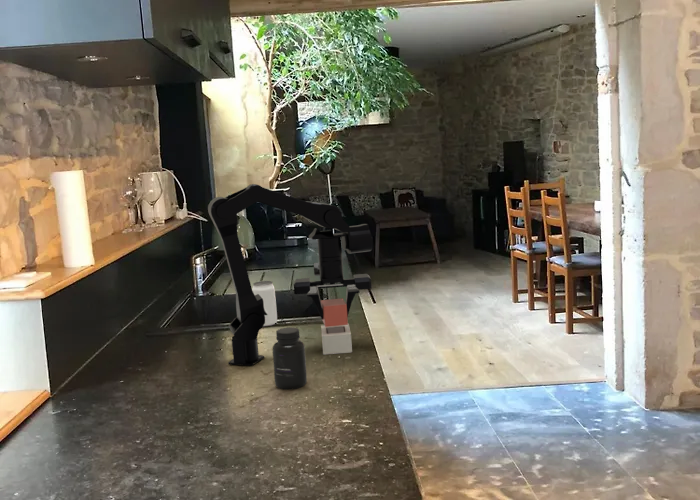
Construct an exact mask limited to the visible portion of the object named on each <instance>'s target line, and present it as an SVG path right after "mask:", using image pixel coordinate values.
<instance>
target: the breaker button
mask: <svg viewBox="0 0 700 500" xmlns="http://www.w3.org/2000/svg"><path fill="white" fill-rule="evenodd" d="M327 330H328V334H329V333H342V332H344V328H343V327H334V328H327Z"/></svg>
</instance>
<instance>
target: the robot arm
mask: <svg viewBox="0 0 700 500" xmlns="http://www.w3.org/2000/svg"><path fill="white" fill-rule="evenodd" d="M256 203H261V204H263V205H266V206H270V207H273V208H275V209H279V210H282V211H286V212H289V213H292V214H295V215H298V216H301V217H303V218H304V219H306V220H307V221H310V222H311V223H314V224H315V225H318V226H319V227H321V228H324V229H327V230H321V231H320V230H319V228H316V227H315V228H314V229H313V230H312V232H311V233H310V234H309V235H308V238H309V239H311V240H313V241H315V240H317V251H318V262H313V275H314V277H319V280H311V278H310V277H307V278H306V277H305V278H296V279H295V280H293V294H294V295H303V294H304V295H306V297H307V298H311V299H312V302H313V303H314V305H315V306H316V309H317V311H318V314H319V316H320V318H321V320H322V319H323V310H322V306H321V297H320V291H319V289H330V288H331V289H333V288H343V287H345V288H346V289H345V290H346V291H345V292H346V295H345V303H346V304H347V318H349V313H350V310H351V306H352V303H353V300H354V298H355V296H356V294H359V293H360V291H361V290H371V289H372V278H371V276H370V275H369V274H368V273H358V274H353V278H344V277H345V276H344V263H343V250H344V251H346V252H347V254H348V255H349V254H356V253H367V252H371V251H372V250H373V247H374V239H373V237H372V233H371V230H370V227H369V224H368V223H361V224H358V225H349V224H348V223H347V222H346V221H345V220H344V218H343V214H342V211H341V209H340V208H339V206H336V205H332V204H329V203H324V202H316V201H309V200H308V201H306V200H302V199H300V198H296V197H293V196H290V195H287V194H284V193H281V192H278V191H274V190H272V189H268V188H265V187H263V186H262V185H260V184H257V183H255V184H254V183H251V184H249V185H247V186H246V187H244V188H242V189H240V190H238V191H236V192H234V193H231V194H229V195H227V196H225V197H224V196H217V197H215V198H213V199H211V201H210V202H209V204H208V205H207V210H208V211H207V212H208V214H209V217H210V219H211V221H212V223H213V225H214V228H215V229H216V231H217V233H218V235H219V237H220V240H221V243H222V247H223V250H224V254H225V258H226V261H227V266H228V269H229V273H230V276H231V280H232V284H233V288H234V292H235V310H236V317H235V318H233V320H232V321H231V323H230V324H229V325H228V328H229V330H230V331H231V334H232V335H233V336H232V337H231V347H232V357H233V359H231V360H229V361H228V365H233V366H234V365H235V366H246V367H247V366H249V367H250V366H252V367H253V366H254V365H255V364H257V363H259V362H260V361H261V360H263V359H264V358H265V355H264V354H263V355H262V354H261V355H260V354H259V345H258V344H259V342H258V336H259V331H260V330H261V329H262V328H263V327H264V326H263V325H264V324H265V316H264V315H267V313H266V312H265V310H264V303H263V299H262V297H261V296H260V295H259V294H257V295H254V293H253V291H252V288H253V286H252V285H251V281H250V277H249V274H248V269H247V265H246V262H245V259H244V254H243V250H242V247H241V246H242V245H241V244H240V239H239V235H238V234H239V233H238V225H239V224H238V214H239V213H240V212H242V211H244V210H246V209H248V208H250V206H252V205H253V204H256ZM332 230H336V231H339V232H338V233H337V232H336V233H333V231H332Z"/></svg>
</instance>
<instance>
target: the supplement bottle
mask: <svg viewBox="0 0 700 500" xmlns="http://www.w3.org/2000/svg"><path fill="white" fill-rule="evenodd" d="M275 334H276V336H275V337H276V342H275V343H274V345H273V346H272V360H273V373H274V374H273V375H274V384H275V386H276V387H277V388H278V389H280V390H286V391H287V390H289V391H290V390H297V389H300V388H303V387H304V386H305V385H306V384H307V381H308V377H307V376H308V375H307V360H306V348H305V344H304V343H303V341H302V340H300V339H301V337H300V336H301V335H300V329H299V328H298V327H293V326H292V327H282V328H279V329H277V330H276V332H275Z"/></svg>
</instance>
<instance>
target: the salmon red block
mask: <svg viewBox="0 0 700 500" xmlns="http://www.w3.org/2000/svg"><path fill="white" fill-rule="evenodd" d="M320 301H321V306H322V310H323V319H321V320H322V323H323V325H325V327H329V326H339V325H348V324H349V323H348V317H347V304H346V300H344V298H343V297H342V298H333V299H331V298H330V299H323V300H322V299H320Z"/></svg>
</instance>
